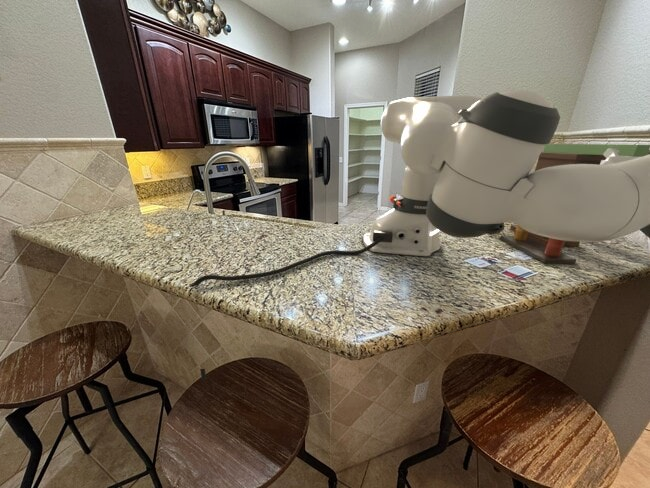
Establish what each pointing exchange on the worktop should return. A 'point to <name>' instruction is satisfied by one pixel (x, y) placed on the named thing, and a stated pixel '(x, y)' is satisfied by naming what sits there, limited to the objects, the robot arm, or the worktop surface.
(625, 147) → the green bar
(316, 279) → the worktop surface
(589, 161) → the walnut pedestal
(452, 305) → the worktop surface
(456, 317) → the worktop surface
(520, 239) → the rod stand
